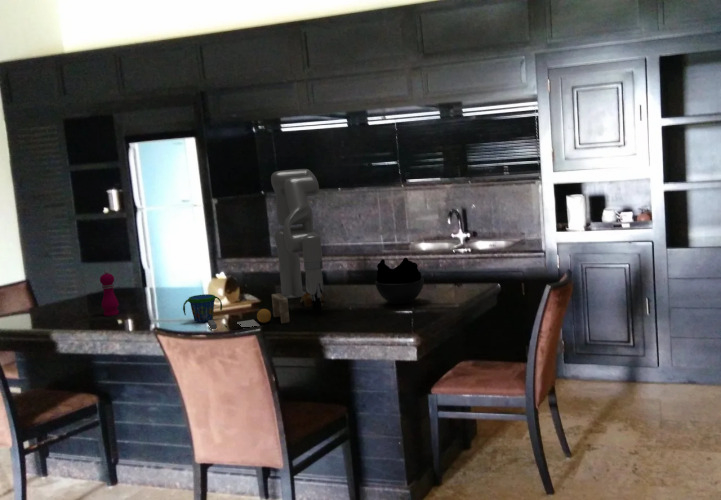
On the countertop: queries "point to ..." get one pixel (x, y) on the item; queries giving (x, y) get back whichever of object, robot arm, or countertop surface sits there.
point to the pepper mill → (109, 295)
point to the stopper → (212, 324)
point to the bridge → (280, 307)
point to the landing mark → (248, 323)
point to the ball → (264, 315)
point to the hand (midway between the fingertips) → (317, 310)
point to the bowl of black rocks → (399, 282)
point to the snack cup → (202, 307)
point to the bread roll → (309, 300)
